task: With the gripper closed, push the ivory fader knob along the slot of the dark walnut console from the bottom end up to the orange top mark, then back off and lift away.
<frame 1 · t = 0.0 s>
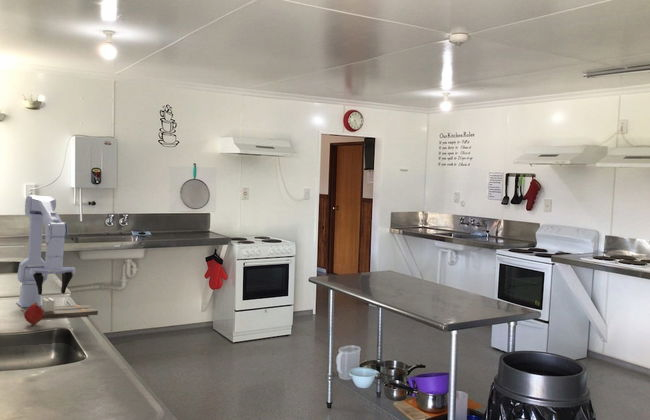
hand: (51, 293, 200), 10 cm above the counter, fingers open, 7 cm apart
fader console: (64, 313, 214), on the counter
fader knob: (48, 304, 210), point 4 cm above the counter, slide at -6.0 cm
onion: (33, 325, 194), on the counter
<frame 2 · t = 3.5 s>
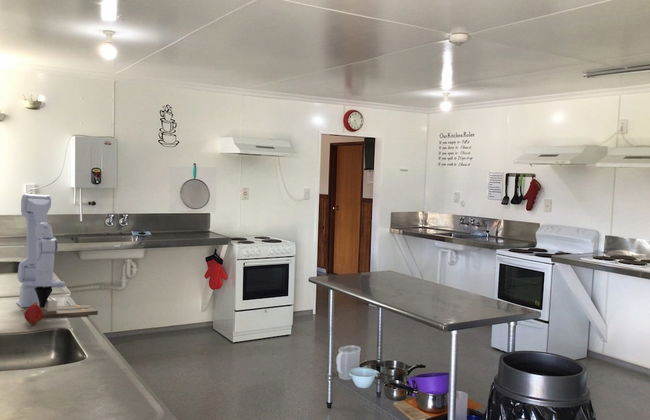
hand: (42, 307, 209), 3 cm above the counter, fingers closed
fader knob: (50, 304, 211), point 4 cm above the counter, slide at -5.1 cm, touching gripper
everything else where it was.
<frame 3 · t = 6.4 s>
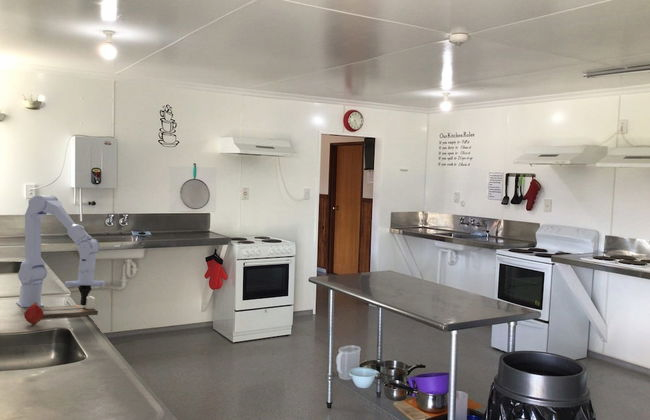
hand: (83, 304, 218), 3 cm above the counter, fingers closed, pressing on fader knob
fader knob: (88, 302, 220), point 4 cm above the counter, slide at 8.8 cm, touching gripper
everything else where it was.
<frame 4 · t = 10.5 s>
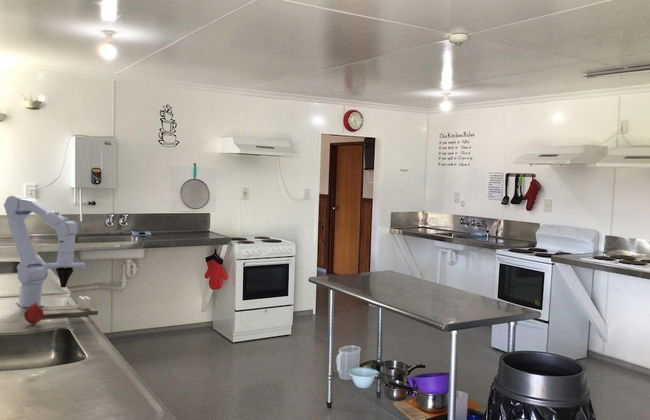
hand: (63, 287, 217), 9 cm above the counter, fingers closed
fader knob: (84, 302, 218), point 4 cm above the counter, slide at 7.1 cm
everything else where it was.
at the end: fader knob slide at 7.1 cm; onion moved 0.2 cm from its start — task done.
